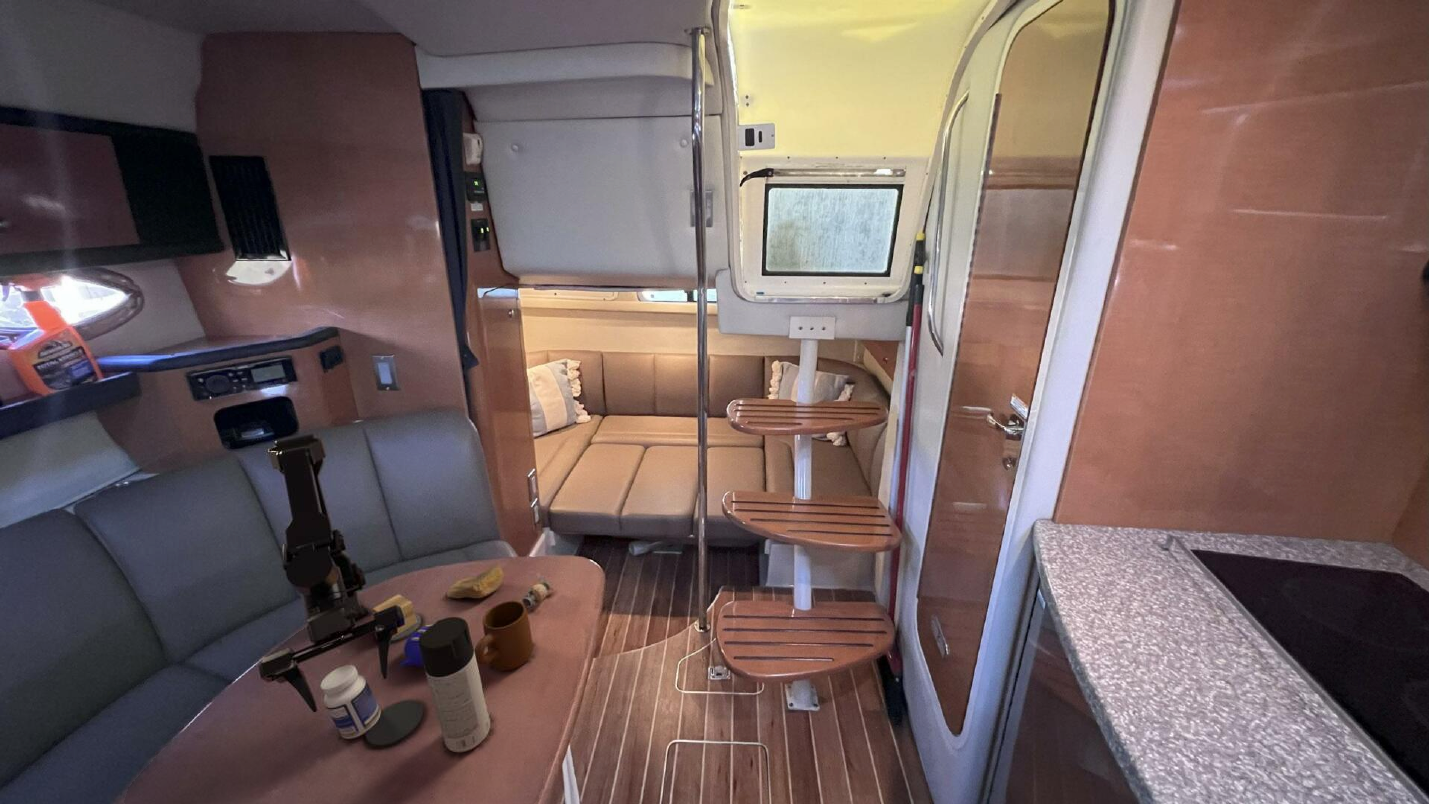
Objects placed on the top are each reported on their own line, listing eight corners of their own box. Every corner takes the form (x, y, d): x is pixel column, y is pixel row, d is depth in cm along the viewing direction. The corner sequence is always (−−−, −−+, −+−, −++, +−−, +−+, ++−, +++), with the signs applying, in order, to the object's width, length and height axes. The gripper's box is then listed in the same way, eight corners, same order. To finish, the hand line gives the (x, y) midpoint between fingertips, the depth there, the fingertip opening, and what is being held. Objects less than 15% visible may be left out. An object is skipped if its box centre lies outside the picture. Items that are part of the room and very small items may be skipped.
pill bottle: (377, 702, 89) (355, 655, 86) (385, 721, 85) (363, 673, 82) (337, 726, 85) (313, 679, 82) (344, 747, 81) (319, 698, 78)
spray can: (500, 722, 85) (478, 619, 79) (469, 760, 79) (442, 653, 72) (467, 711, 87) (443, 611, 81) (434, 748, 81) (405, 642, 75)
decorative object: (383, 638, 94) (433, 609, 103) (385, 667, 95) (435, 635, 104) (424, 657, 90) (472, 625, 99) (426, 687, 91) (474, 652, 100)
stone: (470, 589, 109) (440, 589, 114) (480, 608, 111) (450, 607, 115) (502, 562, 117) (472, 563, 121) (511, 580, 118) (481, 580, 123)
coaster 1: (367, 633, 105) (367, 631, 105) (407, 609, 111) (407, 607, 111) (388, 648, 101) (388, 646, 101) (429, 622, 107) (428, 620, 107)
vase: (538, 574, 109) (516, 598, 107) (558, 592, 110) (536, 616, 108) (537, 571, 114) (516, 594, 112) (556, 588, 115) (535, 611, 113)
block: (378, 629, 105) (372, 608, 104) (404, 614, 109) (398, 593, 108) (391, 638, 103) (385, 617, 101) (417, 622, 107) (411, 602, 105)
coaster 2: (356, 731, 84) (356, 729, 84) (407, 695, 90) (406, 693, 90) (382, 756, 80) (381, 754, 80) (433, 716, 86) (432, 714, 86)
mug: (502, 696, 90) (493, 651, 87) (464, 687, 92) (454, 644, 89) (542, 644, 100) (534, 603, 98) (507, 637, 102) (499, 597, 99)
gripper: (239, 616, 75) (263, 727, 71) (388, 563, 87) (417, 655, 82) (257, 631, 84) (279, 731, 79) (391, 581, 95) (417, 666, 90)
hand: (351, 694), depth 82 cm, fingers open, 9 cm apart
